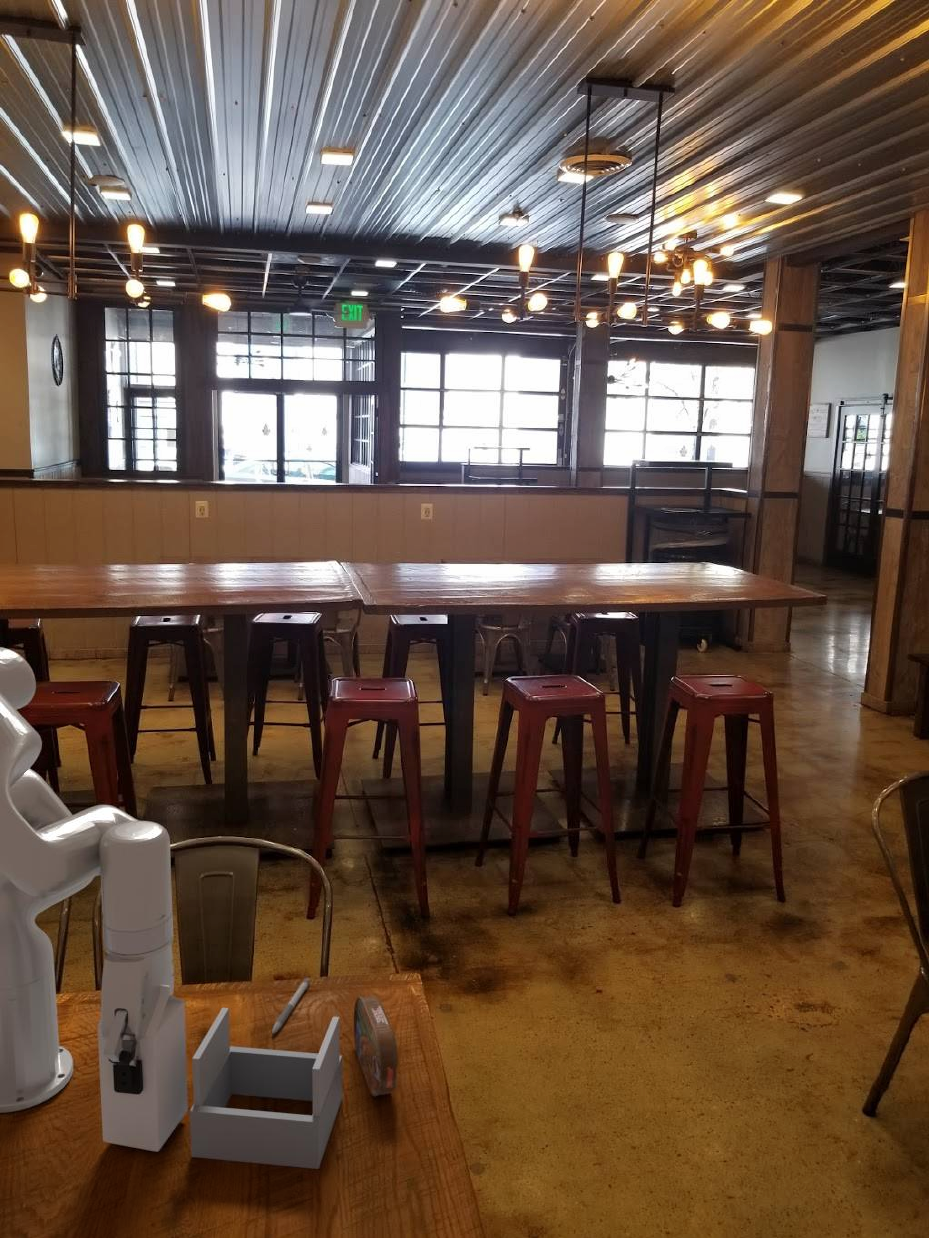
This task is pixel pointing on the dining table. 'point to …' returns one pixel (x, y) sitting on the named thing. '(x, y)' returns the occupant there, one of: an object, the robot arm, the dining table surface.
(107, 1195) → the dining table surface
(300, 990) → the pen
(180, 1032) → the milk carton
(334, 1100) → the flap box
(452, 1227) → the dining table surface
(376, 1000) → the tin
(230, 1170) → the dining table surface
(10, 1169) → the dining table surface
